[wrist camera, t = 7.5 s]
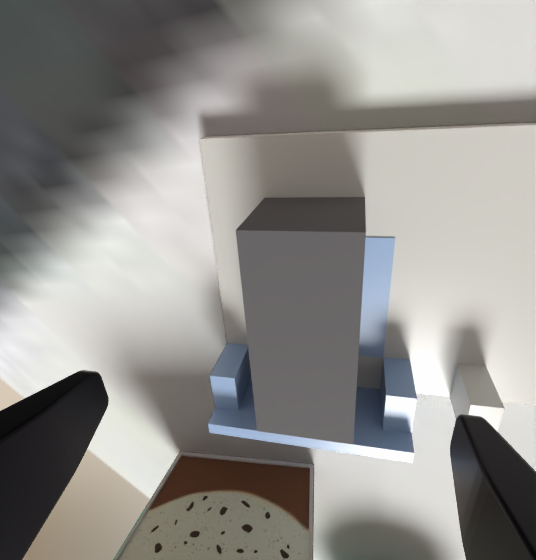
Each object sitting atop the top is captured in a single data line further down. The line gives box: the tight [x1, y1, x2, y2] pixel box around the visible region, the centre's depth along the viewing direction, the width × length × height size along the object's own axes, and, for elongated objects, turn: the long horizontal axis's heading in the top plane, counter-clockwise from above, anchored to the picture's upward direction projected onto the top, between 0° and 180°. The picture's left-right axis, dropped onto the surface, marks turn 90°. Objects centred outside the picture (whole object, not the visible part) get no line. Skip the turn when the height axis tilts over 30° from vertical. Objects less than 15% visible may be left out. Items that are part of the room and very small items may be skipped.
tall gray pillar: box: [236, 197, 366, 445], centre depth 15 cm, size 4×9×4 cm, turn 4°
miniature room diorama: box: [199, 122, 536, 463], centre depth 14 cm, size 20×13×4 cm, turn 94°
